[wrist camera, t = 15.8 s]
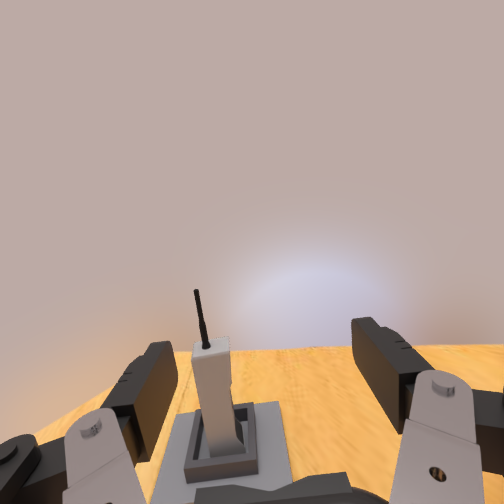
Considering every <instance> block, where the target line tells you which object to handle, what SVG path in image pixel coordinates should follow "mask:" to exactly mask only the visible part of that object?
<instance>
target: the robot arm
mask: <svg viewBox="0 0 504 504" xmlns="http://www.w3.org/2000/svg"><path fill="white" fill-rule="evenodd" d="M351 329H352V351H353V357H354V360H355V363H356V365H357V367H358V369H359V370H360V372H361V374H362V375H363V377H364V379H365V380H366V382H367V383H368V385H369V387H370V388H371V390H372V392H373V393H374V395H375V397H376V398H377V400H378V402H379V403H380V405H381V407H382V408H383V410H384V412H385V413H386V415H387V416H388V418H389V420H390V421H391V423H392V425H393V426H394V428H395V430H396V431H397V433H398V435H399V434H403V435H402V440H401V445H400V450H399V455H398V460H397V465H396V470H395V475H394V480H393V485H392V491H391V496H390V501H389V502H388V501H386V500H385V499H383V498H381V497H379V496H377V495H375V494H373V493H371V492H369V491H366V490H363V489H360V488H356V487H351V485H350V482H349V480H348V477H347V474H346V472H339V473H330V474H321V475H312V476H307V477H305V478H303V479H300V480H298V481H295V482H293V483H291V484H288V485H286V486H284V487H281V488H279V489H276V490H274V491H266V490H261V489H255V488H250V487H245V486H239V485H234V484H231V485H222V486H213V487H204V488H196V493H195V499H194V504H485V502H484V490H483V477H482V471H485V472H490V473H495V474H499V475H502V476H503V477H504V388H503V393H499V392H491V391H482V390H475V389H471V388H470V386H469V385H468V384H467V383H466V382H465V381H463V380H462V379H460V378H459V377H457V376H455V375H453V374H450V373H447V372H444V371H439V370H435V369H434V368H433V367H432V366H431V365H430V364H429V363H428V362H427V361H426V360H425V359H424V358H423V357H422V356H421V355H420V354H419V353H418V352H417V351H416V350H415V349H412V346H411V345H410V344H408V343H407V342H406V341H405V340H404V339H403V338H402V337H401V336H400V335H399V334H398V333H397V332H395V331H393V330H391V329H389V328H387V327H380V326H379V325H378V324H377V323H376V322H375V321H374V320H373V318H371V317H363V318H356V319H352V322H351ZM177 383H178V371H177V367H176V362H175V358H174V353H173V349H172V345H171V342H170V341H162V342H153V343H151V344H150V345H149V347H148V349H147V350H146V352H145V353H144V355H143V356H139V357H137V358H136V359H135V360H134V361H133V362H132V363H130V364H129V366H128V367H127V368H126V370H125V371H124V373H123V375H122V376H121V377H120V379H119V380H118V383H116V385H115V386H114V388H113V389H112V391H111V392H110V394H109V395H108V397H107V398H106V400H105V401H104V402H103V404H102V405H101V407H100V408H99V409H97V410H94V411H91V412H89V413H87V414H86V415H84V416H82V417H81V418H79V419H78V420H77V421H76V422H75V423H74V424H73V425H72V426H71V427H70V428H69V429H68V431H67V433H66V435H65V436H64V437H61V438H58V439H56V440H53V441H50V442H47V443H45V444H42V445H39V446H38V444H37V441H36V439H35V437H34V436H33V435H31V434H26V435H25V434H24V435H20V436H17V437H14V438H12V439H9V440H8V441H6V442H4V443H2V444H0V504H147V503H146V500H145V498H144V495H143V492H142V489H141V486H140V483H139V480H138V477H137V474H136V471H135V469H134V468H135V466H136V464H137V463H141V462H150V459H151V456H152V453H153V451H154V448H155V445H156V442H157V440H158V437H159V434H160V431H161V429H162V426H163V423H164V420H165V417H166V415H167V412H168V409H169V406H170V404H171V401H172V398H173V395H174V393H175V390H176V387H177Z"/></svg>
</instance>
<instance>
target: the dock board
mask: <svg viewBox="0 0 504 504" xmlns="http://www.w3.org/2000/svg"><path fill="white" fill-rule="evenodd" d="M233 408H234V414H235V417H236V418H237V420H238V421H239V422H240V423H241V424H242V425H243V431H244V440H245V449H246V453H244V454H236V455H229V456H221V457H214V458H210V453H209V448H208V443H207V438H206V433H205V428H204V423H203V418H202V413H201V409H198V410H196V411H195V412H191V413H183V414H176V417H175V420H174V424H173V427H172V431H171V434H170V437H169V441H168V444H167V448H166V451H165V454H164V458H163V461H162V465H161V468H160V471H159V475H158V478H157V482H156V485H155V488H154V492H153V495H152V499H151V502H150V504H194V499H195V493H196V488H204V487H213V486H222V485H231V484H234V485H239V486H245V487H250V488H255V489H261V490H266V491H274V490H276V489H279V488H281V487H284V486H286V485H288V484H291V483H293V481H292V475H291V469H290V464H289V458H288V452H287V446H286V441H285V435H284V429H283V424H282V418H281V412H280V406H279V401H274V402H266V403H259V404H253V402H250V403H243V404H235V405H233Z"/></svg>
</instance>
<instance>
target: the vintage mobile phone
mask: <svg viewBox="0 0 504 504" xmlns="http://www.w3.org/2000/svg"><path fill="white" fill-rule="evenodd" d="M194 295H195V300H196V305H197V312H198V317H199V328H200V333H201V338H202V341H200V342H195V343H194V345H193V351H192V358H191V362H192V367H193V372H194V377H195V383H196V388H197V393H198V398H199V403H200V408H201V413H202V418H203V423H204V428H205V433H206V438H207V443H208V448H209V453H210V458H214V457H221V456H229V455H236V454H244V453H246V449H245V440H244V431H243V425H242V424H241V423H240V422H239V421H238V420H237V418H236V417H235V414H234V408H233V402H232V396H231V390H230V387H231V384H232V380H231V362H230V346H229V337H228V336H227V337H222V338H216V339H211V340H208V335H207V330H206V325H205V322H204V318H203V313H202V308H201V302H200V296H199V290H198V289H195V290H194Z"/></svg>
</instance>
